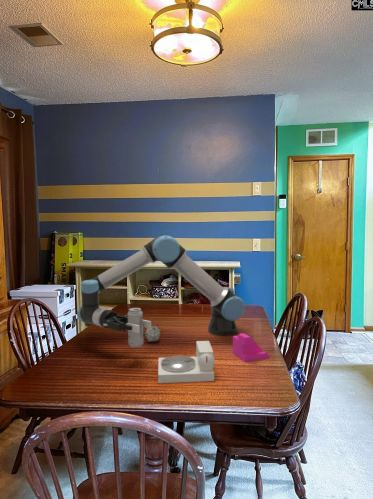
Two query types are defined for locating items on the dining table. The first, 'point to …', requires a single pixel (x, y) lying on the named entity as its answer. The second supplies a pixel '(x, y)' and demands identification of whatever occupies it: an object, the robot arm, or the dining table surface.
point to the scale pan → (178, 363)
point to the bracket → (247, 348)
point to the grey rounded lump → (152, 333)
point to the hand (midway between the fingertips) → (144, 326)
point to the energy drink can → (135, 318)
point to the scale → (198, 373)
